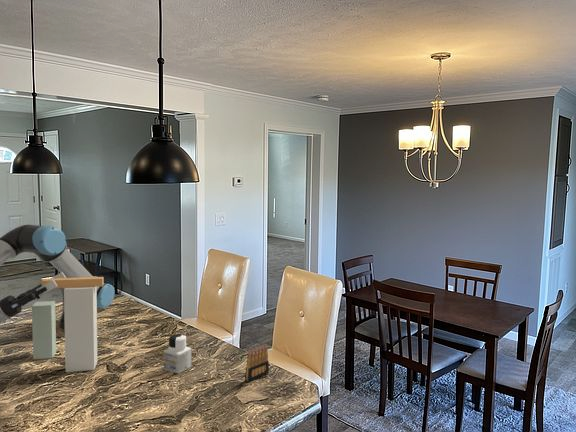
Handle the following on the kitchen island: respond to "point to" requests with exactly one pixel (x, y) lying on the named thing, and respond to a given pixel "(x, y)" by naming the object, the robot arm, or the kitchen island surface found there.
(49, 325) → the pale green tall block
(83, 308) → the post
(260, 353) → the ammunition clip
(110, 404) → the kitchen island surface
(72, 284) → the bar
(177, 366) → the container
